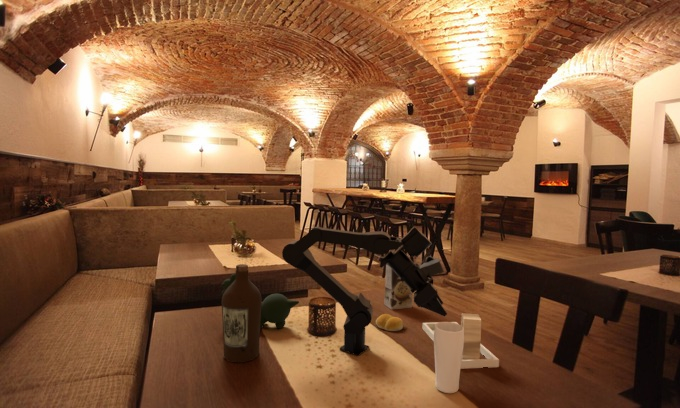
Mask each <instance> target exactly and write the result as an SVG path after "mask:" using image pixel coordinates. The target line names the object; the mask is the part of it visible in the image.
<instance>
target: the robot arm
mask: <svg viewBox="0 0 680 408" xmlns="http://www.w3.org/2000/svg"><path fill="white" fill-rule="evenodd" d="M316 243H326V244H334V245H340V246H341V245H342V246H347V247H356V248H360V249H362V250H365V251H366V252H369V253H373V254H376V255H379V264H380V265H379V267H380V268H381V269H382V268H384V266H386V265H389V267H390V268H391V269H392V270H393V271H394V272H395V273H396V274H397V275H398V276H399V277H400V280H401V281H402V282H403V281H404V283H405V284H406V285H407V286H408V287H409V288H410V291H411V292H412V294H413V302H414V303H415V304H416V305H417V306H418V308H423V309H426V310H429V311H430V312H433V313H435V314H438V315H440V316H442V317H446V316H447V315H448V313H447V311H446V310H445V308H444V306H443V304H444V302H443V300H442V298H441V297H440V295H439V293H438V290H437V289H436V287H435V286H434V277H432V276H435V275H438V274H442V273H444V272H445V270H444V268H443V264H442V263H441V261H440V259H439V258H437V257H436V258H434V257H433V256H432V255H429V256H427V257H425V262H423V264H420V265H419V264H418V262H414V260H412V259H411V258H414V257H416V258H418V257H419V256H420V255H421V254H423V252H425V251H426V250H427V249H428V248H429V247H431V245H433V243H432V242H431V241H430V239H429V238H428V237H427V236H426V235H425V234H424V232H421V231H420V230H419V229H418V228H417V227H416V226H413V227H412V228H410V230H409V231H408V232H407V233H406V234H404V236H402V237H398V236H396V237H395V236H391V235H390V234H389V233H387V232H386V231H367V232H366V231H365V232H356V231H350V230H349V231H348V230H341V229H333V228H327V227H322V226H314V227H313V228H311V229H310V230H309V231H308V232H307V233H306V234H305V235H304V236H302V237H300V238H299V239H296V240H294V241H290V242H288V243H287V244H286V245H285V246H284V247H283V248H282V251H281V253H282V254H281V255H282V259H283V260H284V261H285V263H288V264H289V265H290V266H291V267H294V268H295V269H298V270H301V271H302V272H305V273H306V274H307V275H308V276H309V277H310V278H311V279H312V280H313V281H314V282H315V283H316V284H317V285H319V286H320V287H321V288H322V289H323V290H324V291H325V292H326V293H327V294H329V296H331V297H332V298H333V299H334V300H335V301H336V302H337V303H338V304H339V305H340V306H341V308H342V309H343V310H344V313H345V314H346V317H345V320H344V324H343V327H342V328H343V331H344V337H343V338H344V339H343V345H342V346H340V347H339V350H340V351H341V352H346V353H349V354H352V355H355V356H359V355H361V354H362V353H364V352H366V351H367V350H368V349H370V345H367V344H366V327H368V326H369V325H370V324H371V322H372V318H373V314H374V309H373V306H372V304H371V300H369V299H367V298H366V297H365V296H364V294H362V293H361V292H359V293H358V294H357V295H356V294H354V293H352V292H351V291H349V289H347V288H346V287H345V286H344V285H343V284H342V283H341V282H339V280H337V279H336V278H335V277H334V276H333V275H332V274H331V273H330V272H329V271H327V269H325V268H324V266H322V265H321V264H320V263H319V262H318V261H317V260H316V259H315V258H314V257H315V256H314V255H313V253H312V252H311V250H310V248H311V247H312V246H314V245H315V244H316ZM403 250H404V251H403ZM405 252H406V253H405ZM410 257H411V258H410Z"/></svg>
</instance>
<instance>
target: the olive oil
mask: <svg viewBox="0 0 680 408" xmlns="http://www.w3.org/2000/svg"><path fill="white" fill-rule="evenodd" d="M235 273H236V279H235V281H234V282H233V283H232V284H231V285H230V286H229V287H228V288H227V289H226V290H225V292H224V294H223V295H222V297H221V314H222V315H221V316H222V335H223V337H222V338H223V342H222V343H223V358H224V359H225V360H226V361H228V362H232V363H244V362H249V361H252V360H254V359H256V358H257V357H258V356H259V354H260V334H261V333H260V332H261V329H260V320H261V304H262V302H263V301H262V300H263V299H262V295H261V292H260V290H259V288H258V287H257V286H256V285H255V284H254V283H253V282H252V281H251V280H250V279H249V265H248V264H245V263H244V264H243V263H242V264H237V265H235Z"/></svg>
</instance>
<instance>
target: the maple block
mask: <svg viewBox="0 0 680 408" xmlns="http://www.w3.org/2000/svg"><path fill="white" fill-rule="evenodd" d="M460 325H461V326H462V327H463V328H464V346H463V354H462V360H469V359H481V353H480V343H481V342H482V341H481V337H482V335H481V334H482V318H481V316H480V315H479V314H478V313H475V314H474V313H465V312H464V313H463V312H461V319H460Z"/></svg>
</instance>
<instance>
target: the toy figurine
mask: <svg viewBox="0 0 680 408" xmlns="http://www.w3.org/2000/svg"><path fill="white" fill-rule="evenodd" d="M235 279H236V272H234V273H232V274H231V275H230V277H229V278H226V279H225V280H223V282H222V283H221V284H220V286H221V287H222V288H223V290H222V291H221V295H222V296H223V294H224V292H225V290H226V289H227V288H228V287H229V286H230V285H231V284H232V283H233V282H234V281H235ZM299 303H300V302H299V300H294V299H293V300H292V299H291V300H290V299H288V297H286V296H285V295H284V294H281V293H272V294H269V295H267V296H266V297H265V298H264V299H263V301H262V304H261V320H260V330H261V329H262V328H264V326H265V324H266V323H267V322H268V323H270V324H274V325H275V327H276V328H277V329H283V328H284V326H286V319H288V317H289V315H290V313H291V310H292V309H293V308H294V307H296V306H297V305H298V304H299Z"/></svg>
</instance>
